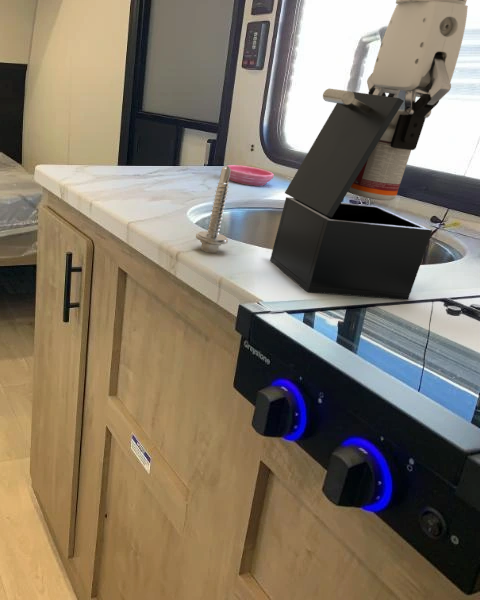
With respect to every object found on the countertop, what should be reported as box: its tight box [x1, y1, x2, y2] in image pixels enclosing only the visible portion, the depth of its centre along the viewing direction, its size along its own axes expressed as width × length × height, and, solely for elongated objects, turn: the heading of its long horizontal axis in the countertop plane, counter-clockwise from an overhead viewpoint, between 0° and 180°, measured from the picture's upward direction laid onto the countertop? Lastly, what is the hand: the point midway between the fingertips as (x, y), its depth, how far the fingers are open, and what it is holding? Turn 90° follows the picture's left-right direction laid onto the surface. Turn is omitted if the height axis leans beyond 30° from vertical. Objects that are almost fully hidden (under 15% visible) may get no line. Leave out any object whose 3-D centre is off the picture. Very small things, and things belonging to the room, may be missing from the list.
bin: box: [269, 196, 433, 301], centre depth 84 cm, size 15×13×10 cm
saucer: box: [226, 164, 275, 187], centre depth 155 cm, size 12×12×3 cm
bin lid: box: [284, 88, 405, 218], centre depth 78 cm, size 15×13×5 cm
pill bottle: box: [348, 108, 412, 201], centre depth 79 cm, size 6×6×11 cm
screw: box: [195, 165, 231, 254], centre depth 89 cm, size 13×5×5 cm
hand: (386, 143), depth 79 cm, fingers closed on pill bottle, 6 cm apart
